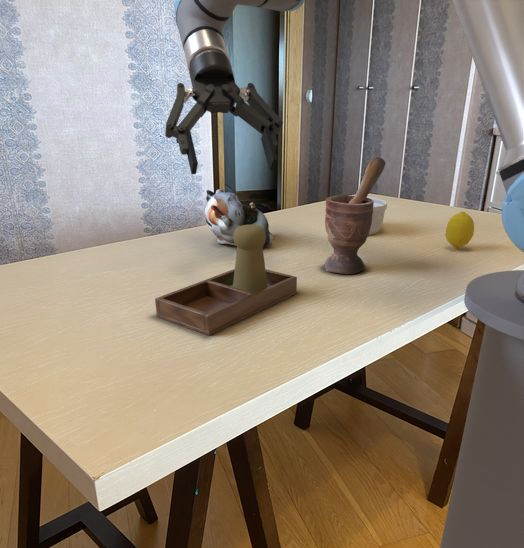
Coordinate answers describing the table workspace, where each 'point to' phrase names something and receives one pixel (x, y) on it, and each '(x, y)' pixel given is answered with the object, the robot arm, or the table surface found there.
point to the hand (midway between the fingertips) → (235, 167)
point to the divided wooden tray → (221, 301)
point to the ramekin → (377, 214)
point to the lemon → (460, 230)
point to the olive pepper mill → (250, 258)
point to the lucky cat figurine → (232, 216)
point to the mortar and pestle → (351, 222)
